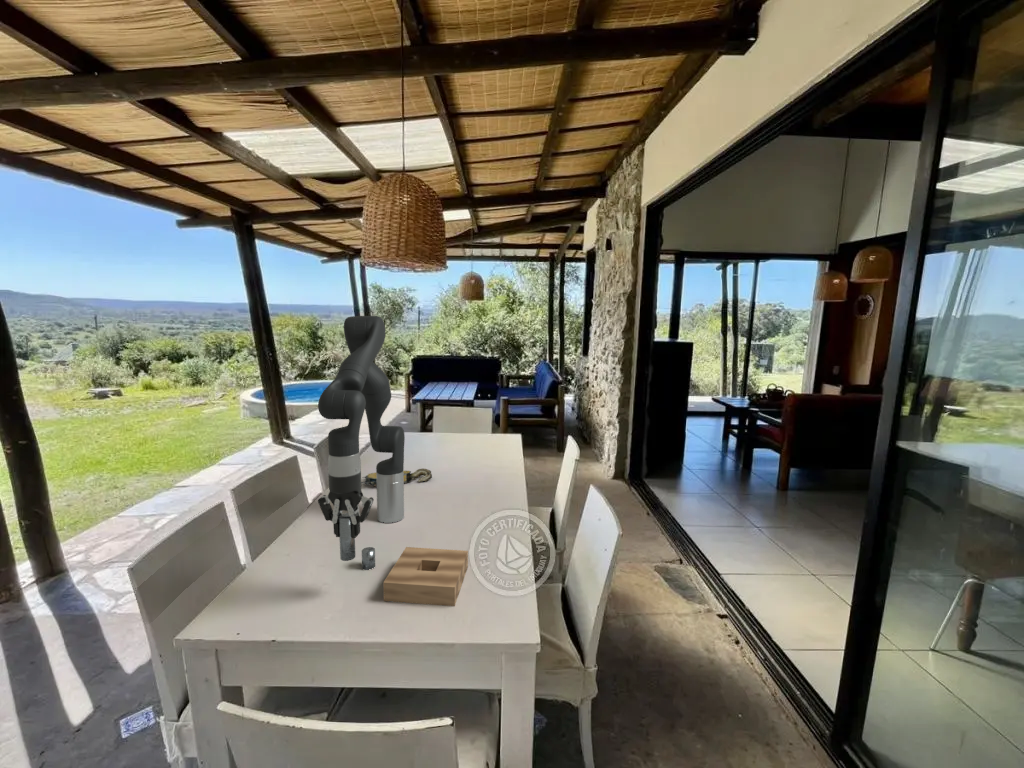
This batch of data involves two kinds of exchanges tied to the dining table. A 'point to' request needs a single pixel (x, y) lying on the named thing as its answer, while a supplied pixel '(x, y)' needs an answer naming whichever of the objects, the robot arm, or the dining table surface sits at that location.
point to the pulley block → (407, 476)
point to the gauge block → (427, 576)
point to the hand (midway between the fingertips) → (347, 535)
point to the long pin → (346, 538)
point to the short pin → (368, 558)
